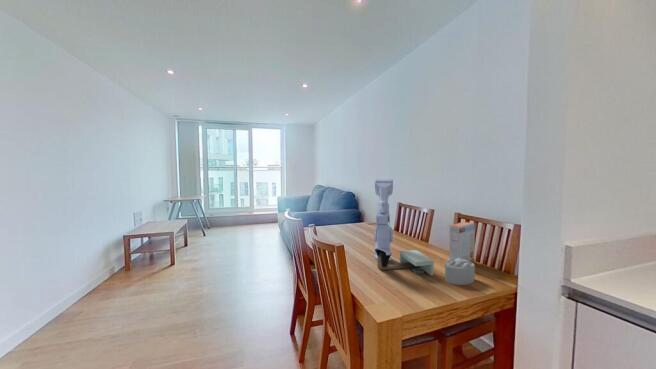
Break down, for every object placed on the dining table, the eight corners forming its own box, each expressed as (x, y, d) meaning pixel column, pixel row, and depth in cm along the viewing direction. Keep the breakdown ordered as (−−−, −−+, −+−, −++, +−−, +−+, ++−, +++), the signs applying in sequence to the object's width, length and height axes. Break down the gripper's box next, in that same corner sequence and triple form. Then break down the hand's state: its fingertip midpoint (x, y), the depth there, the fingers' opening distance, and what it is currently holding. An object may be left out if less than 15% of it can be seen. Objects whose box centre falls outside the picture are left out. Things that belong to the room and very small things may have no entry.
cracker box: (463, 259, 141) (464, 221, 140) (474, 262, 136) (475, 223, 135) (448, 264, 134) (449, 224, 133) (459, 268, 129) (460, 226, 128)
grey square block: (412, 271, 126) (412, 268, 126) (419, 271, 127) (419, 267, 127) (416, 274, 122) (416, 271, 122) (423, 274, 123) (424, 270, 123)
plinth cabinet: (399, 264, 135) (400, 251, 134) (416, 263, 136) (416, 250, 136) (415, 276, 119) (415, 261, 118) (433, 275, 120) (433, 260, 120)
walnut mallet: (377, 267, 130) (377, 255, 130) (413, 264, 134) (413, 253, 133) (380, 270, 127) (380, 257, 126) (417, 267, 130) (417, 255, 130)
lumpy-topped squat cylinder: (477, 280, 115) (478, 261, 115) (461, 287, 108) (462, 267, 107) (455, 272, 124) (455, 254, 123) (438, 279, 117) (439, 260, 116)
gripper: (370, 234, 134) (370, 260, 135) (380, 242, 120) (380, 271, 121) (383, 234, 136) (383, 259, 136) (395, 241, 121) (394, 270, 122)
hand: (382, 264), depth 129 cm, fingers closed on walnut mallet, 4 cm apart
